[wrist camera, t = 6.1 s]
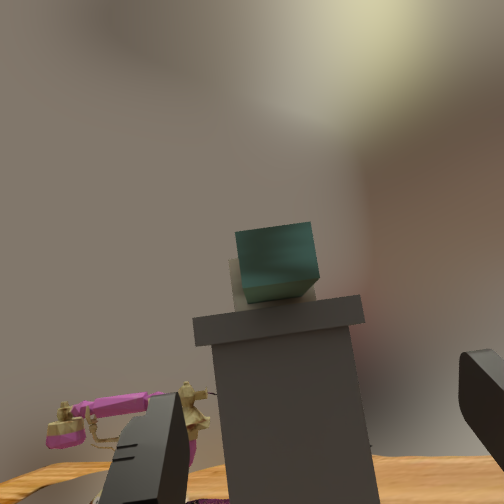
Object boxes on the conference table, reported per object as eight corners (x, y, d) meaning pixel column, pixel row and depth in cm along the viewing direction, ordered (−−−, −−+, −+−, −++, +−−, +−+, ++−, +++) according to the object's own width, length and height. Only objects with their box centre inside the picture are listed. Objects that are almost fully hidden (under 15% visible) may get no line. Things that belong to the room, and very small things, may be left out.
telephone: (12, 607, 58) (7, 410, 63) (91, 532, 80) (83, 391, 85) (278, 582, 55) (251, 378, 60) (285, 512, 77) (265, 366, 82)
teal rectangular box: (301, 311, 44) (295, 272, 45) (341, 284, 23) (327, 209, 23) (241, 320, 44) (236, 280, 45) (224, 300, 22) (214, 225, 23)
